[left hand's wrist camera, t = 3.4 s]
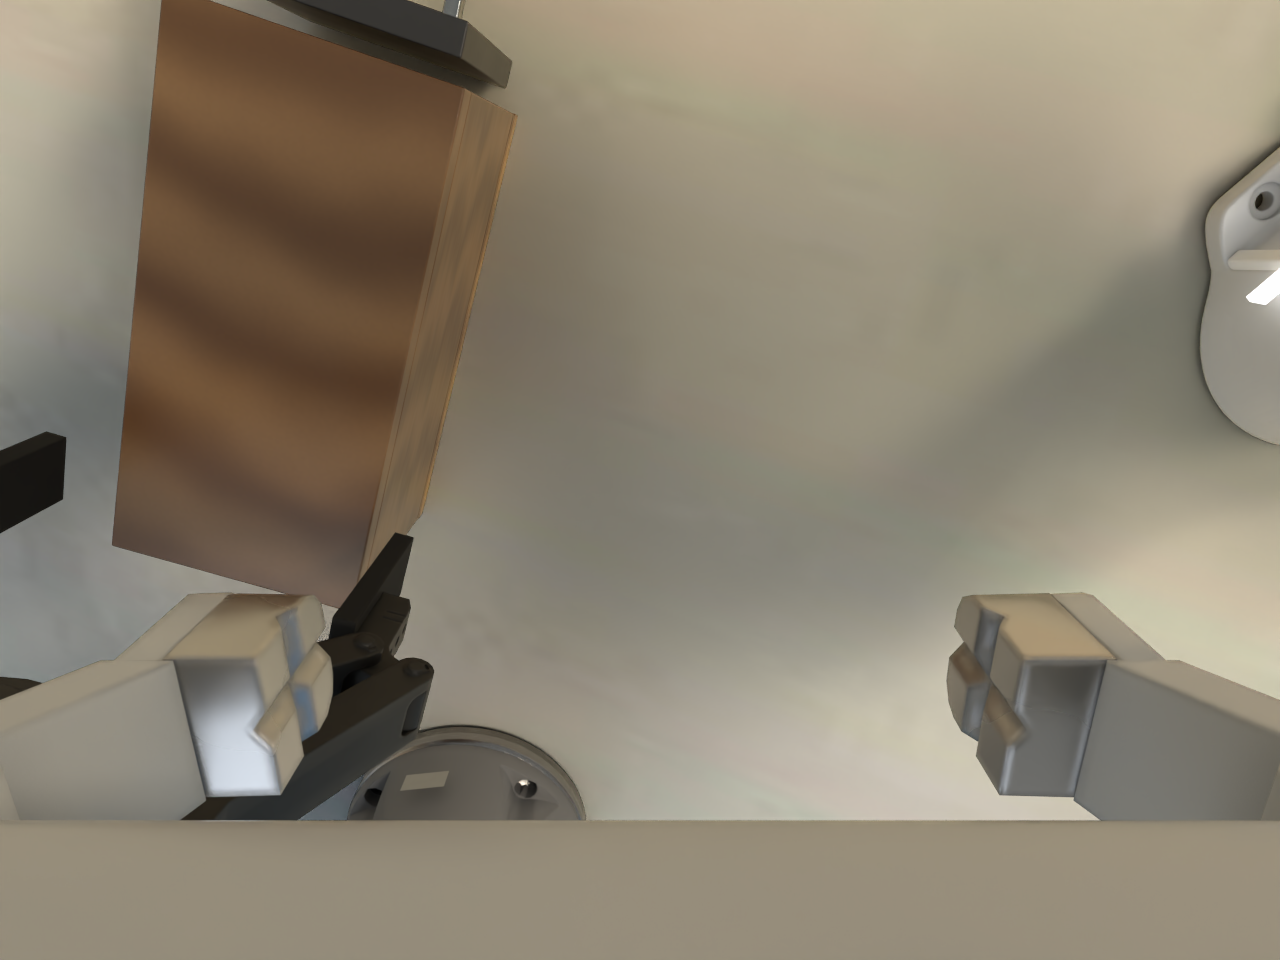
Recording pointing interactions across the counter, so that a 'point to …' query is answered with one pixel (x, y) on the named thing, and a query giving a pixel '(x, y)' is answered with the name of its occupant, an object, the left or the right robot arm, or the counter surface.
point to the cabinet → (296, 299)
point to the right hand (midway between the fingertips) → (230, 515)
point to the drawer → (412, 32)
